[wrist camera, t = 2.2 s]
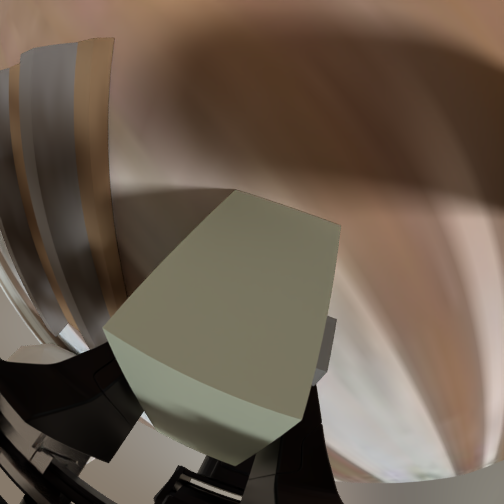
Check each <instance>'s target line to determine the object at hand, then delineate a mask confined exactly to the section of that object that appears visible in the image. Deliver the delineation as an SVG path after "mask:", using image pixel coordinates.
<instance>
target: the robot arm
mask: <svg viewBox="0 0 504 504" xmlns="http://www.w3.org/2000/svg"><path fill="white" fill-rule="evenodd" d="M143 412H144V410H143V408H142V406H141V405H140V403H139V401H138V399H137V398H136V396H135V394H134V392H133V391H132V389H131V387H130V385H129V383H128V381H127V379H126V378H125V376H124V374H123V372H122V370H121V368H120V366H119V364H118V362H117V360H116V357H115V355H114V353H113V351H112V349H111V347H110V345H109V342H108V341H107V342H105V343H104V344H102V345H100V346H98V347H95V348H93V349H91V350H88V351H86V352H84V353H81V354H79V355H76V356H74V357H71V358H69V359H66V360H63V361H61V362H58V363H53V364H33V363H19V362H9V361H4V360H2V359H1V358H0V467H1V469H2V470H3V471H4V472H5V473H6V474H7V475H8V477H9V478H10V479H11V480H12V481H13V482H14V483H15V484H16V486H17V487H18V488H19V489H20V490H21V491H22V492H23V493H24V494H25V495H24V497H23V499H22V501H21V502H20V504H72V503H71V501H72V502H73V503H75V504H117V503H115V502H114V501H112V500H110V499H109V498H107V497H106V496H104V495H103V494H101V493H100V492H98V491H97V490H95V489H94V488H93V487H91V486H90V485H88V484H87V483H86V482H84V481H83V480H82V479H80V478H79V477H78V476H79V475H80V473H81V471H82V470H83V468H84V467H85V465H86V463H87V462H88V460H89V459H90V457H94V458H96V459H99V460H101V461H104V462H107V463H109V462H110V461H111V459H112V458H113V456H114V455H115V454H116V452H117V451H118V449H119V448H120V446H121V445H122V443H123V441H124V440H125V439H126V437H127V436H128V434H129V433H130V431H131V430H132V428H133V426H134V425H135V424H136V422H137V421H138V419H139V418H140V416H141V415H142V413H143ZM321 423H322V419H321V412H320V405H319V399H318V392H317V386H316V385H315V386H312V385H311V389H310V393H309V397H308V400H307V404H306V407H305V411H304V414H303V418H302V420H301V421H300V422H299V423H297V424H296V425H295V426H293V427H292V428H291V429H289V430H288V431H287V432H285V433H284V434H283V435H281V436H280V437H279V438H277V439H276V440H274V441H273V442H272V443H270V444H269V445H267V446H266V447H264V448H263V449H261V450H260V451H258V452H257V453H255V454H254V455H252V456H251V457H249V458H248V459H246V460H244V461H243V462H241V463H239V464H238V465H236V466H234V465H231V464H228V463H225V462H223V461H220V460H218V459H215V458H213V457H210V456H208V455H206V457H205V459H204V461H203V463H202V465H201V467H200V469H199V471H198V473H194V472H192V471H190V470H188V469H187V468H185V467H183V466H179V465H178V467H177V468H176V470H175V472H174V474H173V475H172V477H171V478H170V479H169V481H168V482H167V483H166V484H165V486H163V488H162V489H161V490H160V491H159V492H158V493H157V494H156V495H155V497H154V502H155V503H154V504H344V503H343V502H342V500H341V498H340V496H339V494H338V491H337V488H336V485H335V481H334V477H333V473H332V469H331V465H330V462H329V458H328V453H327V449H326V444H325V438H324V432H323V425H322V424H321ZM191 478H192V479H194V480H197V481H199V482H202V483H204V484H207V485H209V486H212V487H214V488H217V489H220V490H223V491H226V492H229V493H232V494H235V495H238V496H241V497H242V500H241V501H240V500H236V499H233V498H230V497H227V496H224V495H221V494H218V493H216V492H213V491H210V490H208V489H205V488H203V487H200V486H198V485H195V484H193V483H191V482H190V480H191ZM0 504H8V503H7V502H6V501H5V500H4V499H3V498H2V497H1V495H0Z"/></svg>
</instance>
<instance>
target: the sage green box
mask: <svg viewBox="0 0 504 504" xmlns="http://www.w3.org/2000/svg"><path fill="white" fill-rule="evenodd" d="M340 230H341V226H340V225H338V224H335V223H332V222H330V221H327V220H324V219H321V218H319V217H316V216H313V215H310V214H307V213H305V212H302V211H299V210H296V209H293V208H290V207H287V206H284V205H281V204H278V203H275V202H272V201H269V200H266V199H263V198H260V197H257V196H254V195H251V194H248V193H245V192H241V191H238V190H235V191H233V192H232V193H231V194H230V195H229V196H228V197H227V198H226V199H225V200H224V201H223V202H222V203H221V204H220V205H219V206H218V207H216V208H215V209H214V210H213V211H212V212H211V213H210V214H209V215H208V216H207V217H206V218H205V219H204V220H203V221H202V222H201V223H200V224H199V225H198V226H197V227H196V228H195V229H194V230H193V231H192V232H191V233H190V234H189V235H188V236H187V237H186V238H185V239H184V240H183V241H182V242H181V243H180V244H179V245H178V246H177V247H176V248H175V249H174V250H173V251H172V252H171V253H170V254H169V255H168V256H167V257H166V258H165V259H164V260H163V261H162V262H161V263H160V264H159V266H158V267H157V268H156V269H155V270H154V271H153V272H152V273H151V274H150V275H149V276H148V277H147V278H146V279H145V280H144V281H143V283H142V284H141V285H140V286H139V287H138V288H137V289H136V290H135V291H134V292H133V293H132V295H131V296H130V297H129V298H128V299H127V300H126V301H125V302H124V303H123V305H122V306H121V307H120V308H119V309H118V310H117V311H116V312H115V314H114V315H113V316H112V317H111V318H110V319H109V320H108V322H107V323H106V324H105V325H104V326H103V327H102V328H103V331H104V333H105V335H106V338H107V340H108V342H109V345H110V347H111V349H112V351H113V353H114V355H115V357H116V360H117V362H118V364H119V366H120V368H121V370H122V372H123V374H124V376H125V378H126V379H127V381H128V383H129V385H130V387H131V389H132V391H133V392H134V394H135V396H136V398H137V399H138V401H139V403H140V405H141V406H142V408H143V410H144V411H145V413H146V415H147V416H148V418H149V419H150V421H151V423H152V424H153V426H154V427H155V429H156V430H157V431H158V432H159V433H161V434H163V435H165V436H167V437H169V438H171V439H173V440H175V441H177V442H179V443H181V444H183V445H185V446H187V447H189V448H192V449H194V450H196V451H199V452H201V453H203V454H205V455H208V456H210V457H213V458H215V459H218V460H220V461H223V462H225V463H228V464H231V465H234V466H236V465H238V464H239V463H241V462H243V461H244V460H246V459H248V458H249V457H251V456H252V455H254V454H255V453H257V452H258V451H260V450H261V449H263V448H264V447H266V446H267V445H269V444H270V443H272V442H273V441H274V440H276V439H277V438H279V437H280V436H281V435H283V434H284V433H285V432H287V431H288V430H289V429H291V428H292V427H293V426H295V425H296V424H297V423H299V422H300V421H301V420H302V418H303V414H304V411H305V407H306V404H307V400H308V397H309V393H310V389H311V385H312V386H315V385H316V383H317V382H318V381H319V380H320V379H321V378H322V377H323V376H324V375H325V374H326V372H327V370H328V365H329V360H330V355H331V350H332V344H333V339H334V333H335V327H336V321H337V319H335V318H332V317H329V316H327V314H328V309H329V303H330V298H331V292H332V286H333V280H334V274H335V267H336V260H337V253H338V246H339V238H340Z"/></svg>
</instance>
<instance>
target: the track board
mask: <svg viewBox="0 0 504 504" xmlns="http://www.w3.org/2000/svg"><path fill="white" fill-rule="evenodd" d="M113 44H114V38H92V39H88V40H85V41H81V42H75V43H65V44H57V45H50V46H43V47H37V48H33V49H31V50H29V51H27V52H24V53H22V54H21V58H20V63H19V64H17V65H15V66H12V67H10V68H7V69H4V70H1V71H0V229H1V232H2V235H3V238H4V241H5V243H6V246H7V249H8V251H9V254H10V256H11V258H12V261H13V263H14V265H15V268H16V270H17V272H18V274H19V277H20V279H21V281H22V283H23V285H24V287H25V289H26V291H27V293H28V295H29V297H30V299H31V301H32V302H33V304H34V306H35V308H36V310H37V312H38V313H39V315H40V317H41V318H42V320H43V322H44V324H45V325H46V327H47V328H48V330H49V331H50V332H51V333H52V334H53V335H54V336H55V337H56V336H57V335H58V334H59V333H60V332H61V331H62V330H63V328H64V327H65V326H66V325H67V324H68V323H69V324H70V325H72V326H73V327H74V328H75V329H77V330H78V331H79V332H81V334H82V336H83V338H84V340H85V342H86V344H87V345H88V347H89V349H90V350H91V349H93V348H95V347H98V346H100V345H102V344H104V343H105V342H107V341H108V340H107V338H106V335H105V333H104V331H103V328H102V327H103V326H104V325H105V324H106V323H107V322H108V320H109V319H110V318H111V317H112V316H113V315H114V314H115V312H116V311H117V310H118V309H119V308H120V307H121V306H122V305H123V303H124V302H125V301H126V300H127V294H126V290H125V285H124V280H123V275H122V270H121V265H120V259H119V253H118V247H117V241H116V234H115V227H114V219H113V210H112V201H111V190H110V177H109V158H108V101H109V83H110V71H111V61H112V52H113Z"/></svg>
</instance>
